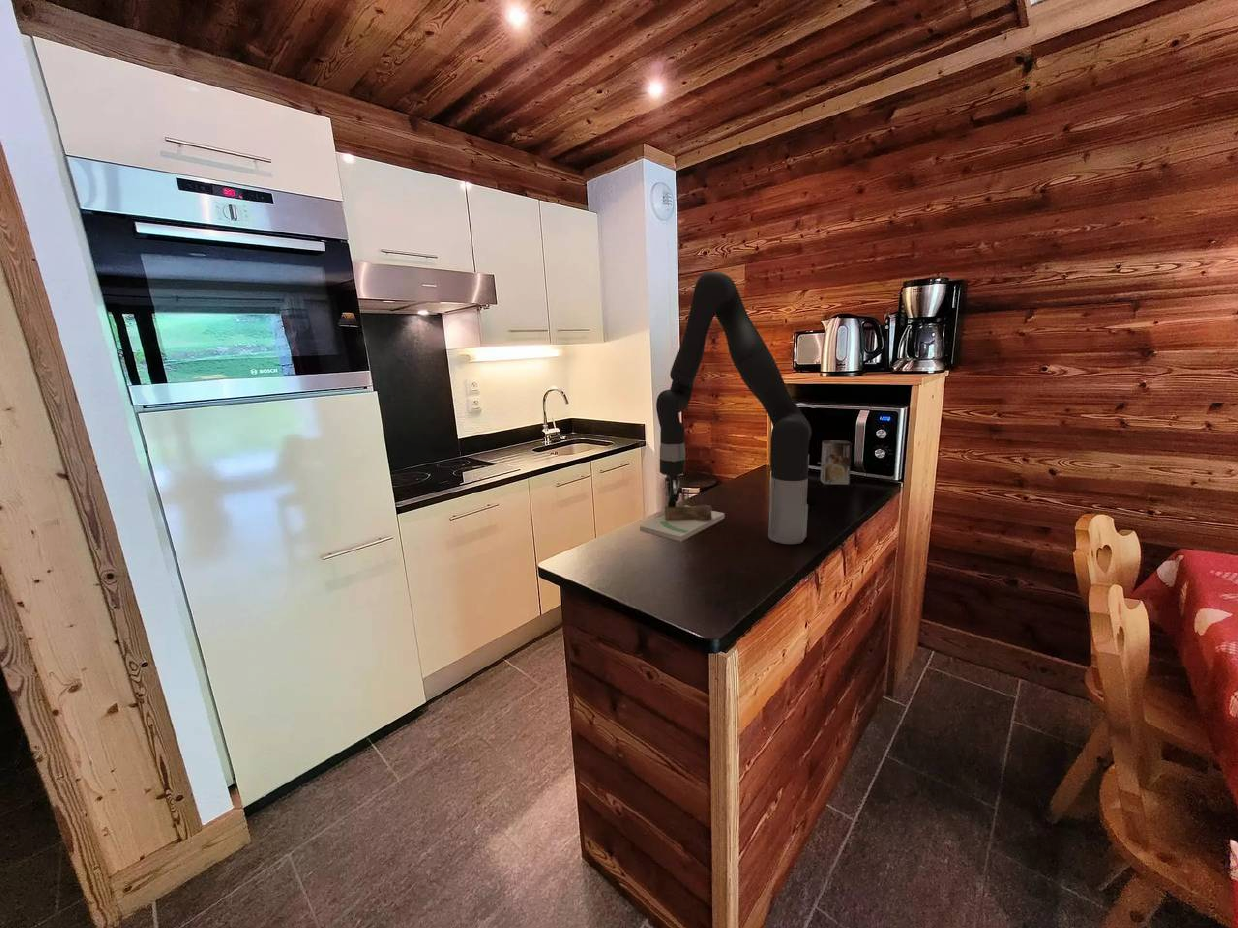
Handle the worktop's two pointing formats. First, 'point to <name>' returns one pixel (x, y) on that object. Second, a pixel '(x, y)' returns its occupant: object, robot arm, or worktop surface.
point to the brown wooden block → (688, 512)
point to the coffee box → (836, 462)
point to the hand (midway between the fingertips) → (671, 512)
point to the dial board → (679, 526)
